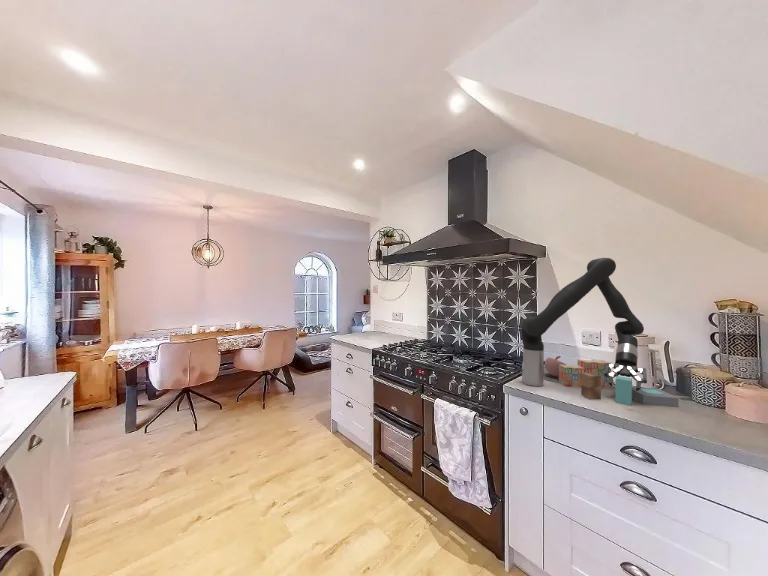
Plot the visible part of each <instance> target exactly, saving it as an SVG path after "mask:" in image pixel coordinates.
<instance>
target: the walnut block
mask: <svg viewBox="0 0 768 576" xmlns="http://www.w3.org/2000/svg"><path fill="white" fill-rule="evenodd" d="M580 388H581V391H580V392H581V396H582V397H584V398H586V399H588V400H601V399H602V397H601V396H602V394H601V393H602V388H601V376H599V375H597V374H594V373H581V387H580Z"/></svg>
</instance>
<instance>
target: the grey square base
mask: <svg viewBox="0 0 768 576" xmlns="http://www.w3.org/2000/svg"><path fill="white" fill-rule="evenodd" d="M632 399H634V400H636V401H637V402H639V403H641V404H642V405H649V406H650V405H651V406H662V407H673V408H674V407H676V408H679V397H677V396H675V395H674V394H673V395H672V394H671V393H668V392H666V391H664V390H662V389H660V388H653V387H642V386H641V389H640V390H638V391H636V386H632Z"/></svg>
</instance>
